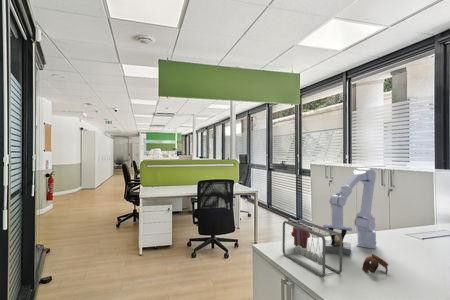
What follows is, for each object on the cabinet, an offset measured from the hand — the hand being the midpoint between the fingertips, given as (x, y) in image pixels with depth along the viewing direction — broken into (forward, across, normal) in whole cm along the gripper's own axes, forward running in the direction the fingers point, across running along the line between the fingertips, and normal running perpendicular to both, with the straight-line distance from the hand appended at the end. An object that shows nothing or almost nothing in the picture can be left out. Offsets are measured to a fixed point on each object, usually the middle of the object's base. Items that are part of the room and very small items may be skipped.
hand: (337, 242), depth 150 cm
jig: (+4, 0, 0) cm, 4 cm away
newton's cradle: (+4, -11, -25) cm, 27 cm away
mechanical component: (+4, -18, -4) cm, 20 cm away
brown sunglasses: (+4, +17, -22) cm, 28 cm away
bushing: (+2, 0, 0) cm, 2 cm away
